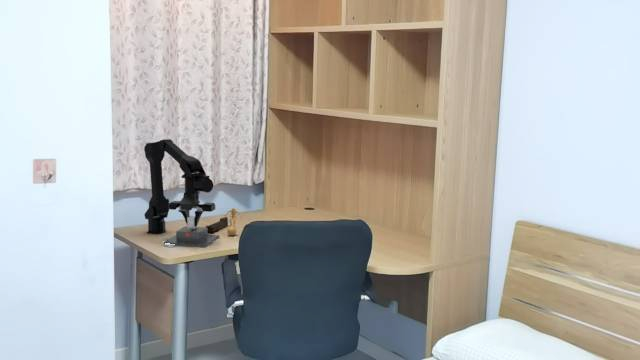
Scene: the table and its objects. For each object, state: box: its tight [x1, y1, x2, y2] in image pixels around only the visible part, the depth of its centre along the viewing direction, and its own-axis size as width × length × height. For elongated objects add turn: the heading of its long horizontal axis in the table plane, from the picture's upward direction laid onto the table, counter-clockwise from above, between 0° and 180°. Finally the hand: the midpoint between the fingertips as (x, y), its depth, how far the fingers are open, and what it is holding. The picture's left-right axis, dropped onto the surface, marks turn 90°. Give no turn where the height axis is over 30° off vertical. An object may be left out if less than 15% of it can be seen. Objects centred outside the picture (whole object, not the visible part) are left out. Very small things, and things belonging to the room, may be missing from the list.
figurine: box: [224, 207, 243, 237], centre depth 309 cm, size 8×6×12 cm
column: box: [186, 215, 198, 231], centre depth 297 cm, size 3×3×9 cm
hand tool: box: [205, 216, 229, 235], centre depth 320 cm, size 19×4×5 cm, turn 159°
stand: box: [163, 225, 220, 248], centre depth 297 cm, size 18×18×6 cm
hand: (192, 226), depth 297 cm, fingers closed on column, 3 cm apart
